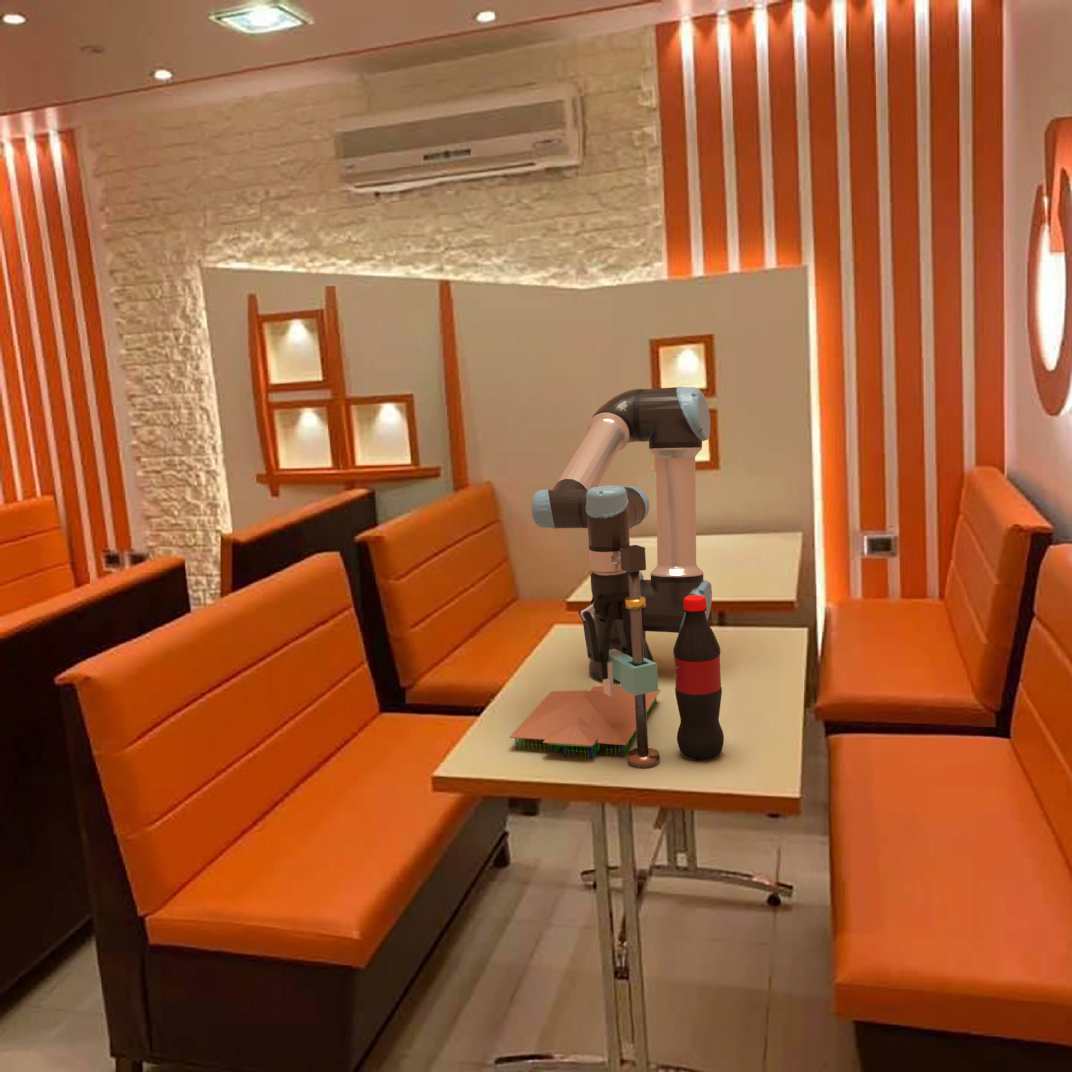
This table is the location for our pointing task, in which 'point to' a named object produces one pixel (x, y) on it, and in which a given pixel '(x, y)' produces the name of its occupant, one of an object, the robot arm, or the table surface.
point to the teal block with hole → (633, 673)
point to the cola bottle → (698, 684)
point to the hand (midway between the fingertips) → (617, 692)
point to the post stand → (637, 653)
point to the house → (584, 719)
